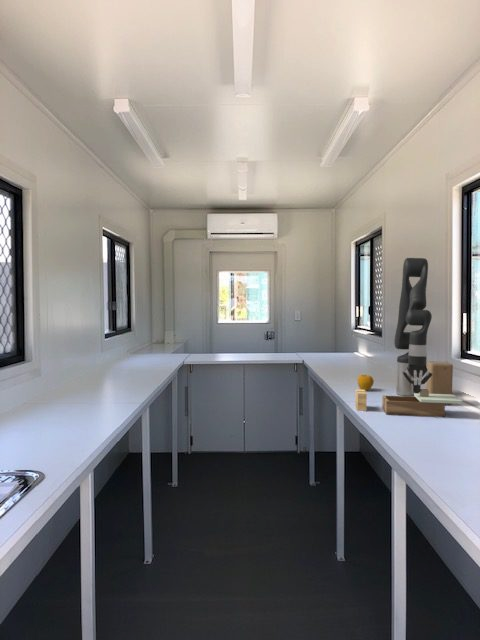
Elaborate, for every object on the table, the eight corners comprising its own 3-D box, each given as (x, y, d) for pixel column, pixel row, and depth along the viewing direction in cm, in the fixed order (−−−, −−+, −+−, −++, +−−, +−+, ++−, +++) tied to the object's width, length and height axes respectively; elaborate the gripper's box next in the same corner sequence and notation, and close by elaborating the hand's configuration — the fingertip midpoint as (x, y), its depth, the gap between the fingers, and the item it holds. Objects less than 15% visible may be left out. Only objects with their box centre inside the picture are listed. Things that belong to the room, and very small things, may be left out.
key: (355, 406, 213) (355, 389, 212) (364, 406, 212) (364, 389, 212) (357, 410, 204) (357, 393, 204) (366, 411, 203) (366, 393, 203)
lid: (413, 395, 206) (414, 386, 206) (453, 397, 204) (453, 388, 204) (420, 402, 194) (420, 392, 193) (462, 403, 191) (462, 394, 191)
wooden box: (382, 408, 208) (382, 395, 208) (436, 410, 205) (437, 397, 204) (386, 414, 197) (386, 401, 196) (444, 417, 193) (444, 403, 193)
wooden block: (452, 405, 214) (453, 364, 213) (429, 404, 216) (430, 363, 215) (446, 401, 224) (448, 361, 223) (425, 400, 226) (426, 360, 225)
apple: (375, 390, 250) (376, 374, 249) (369, 392, 243) (369, 376, 243) (361, 388, 255) (361, 372, 255) (354, 390, 249) (354, 374, 249)
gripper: (431, 353, 202) (429, 392, 203) (400, 353, 204) (399, 390, 205) (435, 356, 195) (434, 395, 195) (403, 355, 197) (402, 394, 198)
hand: (416, 393), depth 200 cm, fingers closed
